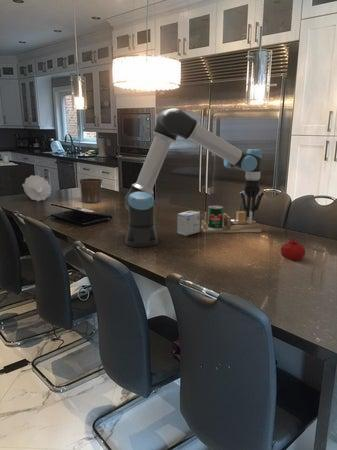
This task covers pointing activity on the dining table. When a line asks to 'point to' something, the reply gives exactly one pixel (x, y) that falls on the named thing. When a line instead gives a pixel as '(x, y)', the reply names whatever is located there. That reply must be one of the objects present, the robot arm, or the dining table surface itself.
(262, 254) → the dining table surface
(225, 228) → the base
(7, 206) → the dining table surface
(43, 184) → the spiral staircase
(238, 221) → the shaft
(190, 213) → the light bulb box
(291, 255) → the pomegranate
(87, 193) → the plant pot
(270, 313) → the dining table surface
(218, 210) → the canned tomato
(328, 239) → the dining table surface
